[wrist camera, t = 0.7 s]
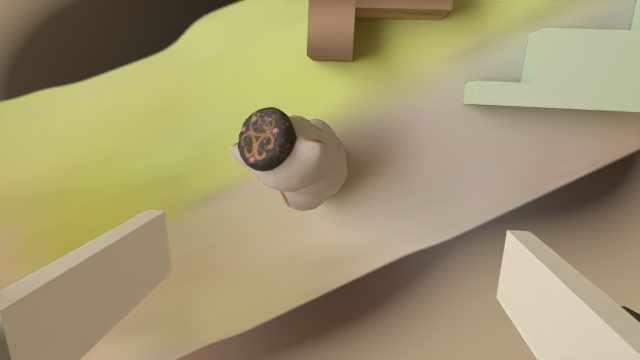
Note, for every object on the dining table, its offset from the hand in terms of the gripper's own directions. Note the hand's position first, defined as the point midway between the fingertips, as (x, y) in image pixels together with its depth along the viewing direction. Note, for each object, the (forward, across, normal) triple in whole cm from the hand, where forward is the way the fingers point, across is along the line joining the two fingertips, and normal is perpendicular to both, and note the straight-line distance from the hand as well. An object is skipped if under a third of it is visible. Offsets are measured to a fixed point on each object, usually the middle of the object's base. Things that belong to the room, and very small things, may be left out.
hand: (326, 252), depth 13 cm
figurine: (+24, -4, 0) cm, 24 cm away
